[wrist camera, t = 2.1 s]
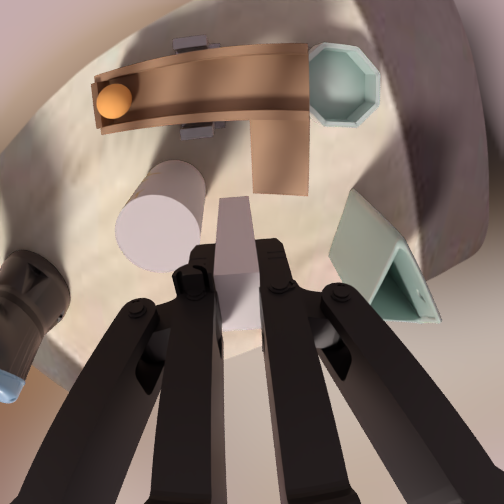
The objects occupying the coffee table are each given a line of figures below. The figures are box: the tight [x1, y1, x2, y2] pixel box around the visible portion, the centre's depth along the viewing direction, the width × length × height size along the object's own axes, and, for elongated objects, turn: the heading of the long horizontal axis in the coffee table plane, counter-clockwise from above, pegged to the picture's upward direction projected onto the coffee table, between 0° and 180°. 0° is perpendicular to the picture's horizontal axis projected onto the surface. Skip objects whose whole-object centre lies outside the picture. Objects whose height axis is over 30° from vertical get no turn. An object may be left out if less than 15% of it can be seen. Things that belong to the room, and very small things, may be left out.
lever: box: [91, 43, 310, 196], centre depth 24 cm, size 20×13×3 cm
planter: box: [329, 189, 442, 324], centre depth 35 cm, size 16×8×20 cm, turn 32°
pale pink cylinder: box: [115, 160, 206, 273], centre depth 31 cm, size 8×8×12 cm
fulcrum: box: [173, 35, 225, 140], centre depth 25 cm, size 5×10×10 cm, turn 3°
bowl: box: [308, 42, 380, 128], centre depth 29 cm, size 10×10×4 cm
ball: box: [96, 84, 132, 119], centre depth 22 cm, size 4×4×4 cm
